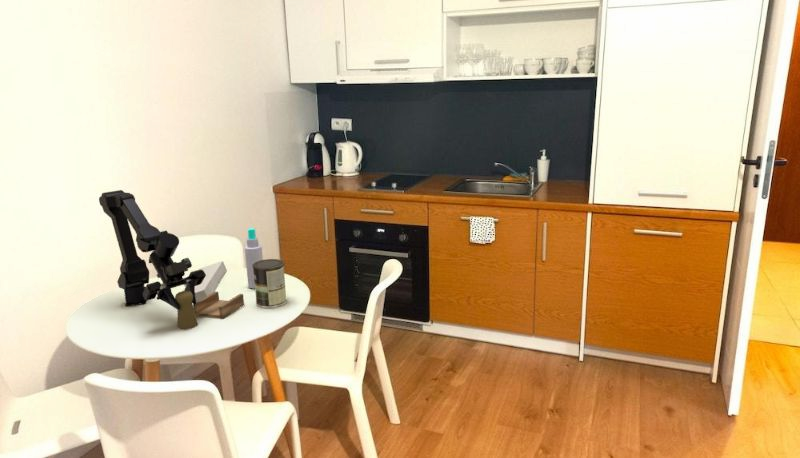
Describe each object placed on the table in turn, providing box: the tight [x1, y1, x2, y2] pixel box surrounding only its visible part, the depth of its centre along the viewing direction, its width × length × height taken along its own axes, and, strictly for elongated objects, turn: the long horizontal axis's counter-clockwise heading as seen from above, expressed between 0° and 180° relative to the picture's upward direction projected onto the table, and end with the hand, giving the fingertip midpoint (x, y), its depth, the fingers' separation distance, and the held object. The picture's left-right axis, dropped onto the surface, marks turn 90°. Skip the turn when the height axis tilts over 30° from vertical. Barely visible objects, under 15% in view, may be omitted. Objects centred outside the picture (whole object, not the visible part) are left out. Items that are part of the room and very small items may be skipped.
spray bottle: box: [244, 227, 264, 290], centre depth 206 cm, size 6×6×22 cm
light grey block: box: [182, 260, 228, 302], centre depth 211 cm, size 34×5×10 cm
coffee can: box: [252, 258, 288, 309], centre depth 191 cm, size 10×10×14 cm
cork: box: [174, 290, 199, 330], centre depth 174 cm, size 6×6×11 cm
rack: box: [192, 291, 245, 320], centre depth 187 cm, size 11×12×4 cm
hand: (187, 306), depth 173 cm, fingers closed on cork, 5 cm apart
